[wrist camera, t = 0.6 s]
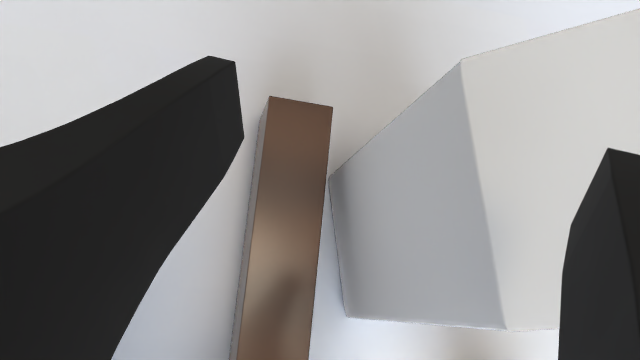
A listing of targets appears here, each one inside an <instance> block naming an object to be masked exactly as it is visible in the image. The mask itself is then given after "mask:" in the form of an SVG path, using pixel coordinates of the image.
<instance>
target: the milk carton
mask: <svg viewBox="0 0 640 360" xmlns="http://www.w3.org/2000/svg"><path fill="white" fill-rule="evenodd" d="M607 148H612V149H616V150H621V151H625V152H629V153H634V154H638V155H640V9H636V10H633V11H629V12H625V13H622V14H618V15H615V16H611V17H608V18H604V19H601V20H597V21H594V22H590V23H587V24H583V25H580V26H576V27H573V28H569V29H566V30H562V31H559V32H555V33H552V34H548V35H545V36H541V37H538V38H534V39H530V40H527V41H523V42H520V43H516V44H513V45H509V46H506V47H502V48H499V49H495V50H492V51H488V52H485V53H481V54H478V55H474V56H471V57H467V58H464V59H461V61H460V62H459V63H458V64H457V65H456V66H454V67H453V68H452V69H451V70H450V71H449V72H448V73H447V74H445V75H444V76H443V77H442V78H441V79H440V80H439V81H437V82H436V83H435V84H434V85H433V86H432V87H431V88H429V89H428V90H427V91H426V92H425V93H424V94H423V95H421V96H420V97H419V98H418V99H417V100H416V101H415V102H414V103H412V104H411V105H410V106H409V107H408V108H407V109H406V110H404V111H403V112H402V113H401V114H400V115H399V116H398V117H396V118H395V119H394V120H393V121H392V122H391V123H390V124H388V125H387V126H386V127H385V128H384V129H383V130H382V131H381V132H379V133H378V134H377V135H376V136H375V137H374V138H373V139H371V140H370V141H369V142H368V143H367V144H366V145H365V146H363V147H362V148H361V149H360V150H359V151H358V152H357V153H355V154H354V155H353V156H352V157H351V158H350V159H349V160H348V161H346V162H345V163H344V164H343V165H342V166H341V167H340V168H338V169H337V170H336V171H335V172H334V173H333V174H332V175H331V176H330V177H329V188H330V196H331V204H332V212H333V220H334V228H335V236H336V244H337V252H338V260H339V268H340V276H341V284H342V292H343V300H344V307H345V313H346V316H347V317H349V318H358V319H370V320H382V321H394V322H405V323H417V324H429V325H440V326H452V327H464V328H476V329H487V330H499V331H508V332H520V331H534V330H548V329H559V328H560V305H561V284H562V271H563V265H564V259H565V253H566V248H567V242H568V237H569V232H570V226H571V223H572V221H573V219H574V217H575V215H576V213H577V211H578V208H579V206H580V204H581V202H582V200H583V198H584V196H585V194H586V192H587V190H588V188H589V186H590V183H591V181H592V179H593V177H594V175H595V173H596V171H597V169H598V167H599V165H600V163H601V160H602V158H603V156H604V154H605V152H606V150H607Z"/></svg>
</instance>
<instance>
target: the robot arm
mask: <svg viewBox="0 0 640 360" xmlns="http://www.w3.org/2000/svg"><path fill="white" fill-rule="evenodd" d="M243 139H244V131H243V123H242V114H241V106H240V98H239V90H238V81H237V73H236V65H235V62H234V61H230V60H226V59H221V58H217V57H213V56H207V57H205V58H202V59H200V60H198V61H196V62H193V63H191V64H189V65H187V66H185V67H183V68H181V69H179V70H177V71H175V72H173V73H171V74H169V75H167V76H166V77H164V78H162V79H160V80H158V81H156V82H154V83H152V84H150V85H148V86H146V87H144V88H142V89H140V90H138V91H136V92H134V93H132V94H130V95H128V96H126V97H124V98H122V99H120V100H118V101H116V102H114V103H111V104H109V105H107V106H105V107H103V108H100V109H98V110H96V111H94V112H92V113H90V114H87V115H85V116H83V117H81V118H79V119H76V120H74V121H72V122H69V123H67V124H65V125H62V126H60V127H57V128H55V129H52V130H49V131H47V132H44V133H41V134H38V135H36V136H33V137H30V138H27V139H25V140H22V141H19V142H16V143H13V144H10V145H6V146H3V147H0V360H111V358H112V356H113V354H114V352H115V350H116V348H117V346H118V344H119V342H120V340H121V338H122V336H123V334H124V332H125V330H126V329H127V327H128V325H129V323H130V321H131V319H132V317H133V315H134V313H135V311H136V310H137V308H138V306H139V304H140V302H141V300H142V299H143V297H144V295H145V293H146V292H147V290H148V288H149V286H150V284H151V283H152V281H153V279H154V277H155V276H156V274H157V272H158V270H159V269H160V267H161V266H162V264H163V263H164V261H165V259H166V258H167V256H168V255H169V253H170V252H171V250H172V249H173V248H174V246H175V245H176V244H177V242H178V241H179V239H180V238H181V237H182V235H183V234H184V232H185V231H186V230H187V228H188V227H189V225H190V224H191V223H192V221H193V220H194V219H195V217H196V216H197V214H198V213H199V212H200V210H201V209H202V207H203V206H204V205H205V203H206V202H207V200H208V199H209V198H210V196H211V195H212V193H213V192H214V191H215V189H216V188H217V186H218V185H219V183H220V182H221V180H222V179H223V178H224V176H225V174H226V172H227V171H228V169H229V167H230V165H231V163H232V161H233V159H234V157H235V155H236V153H237V151H238V149H239V147H240V145H241V143H242V141H243ZM558 360H640V155H638V154H634V153H629V152H625V151H621V150H616V149H612V148H607V150H606V152H605V154H604V156H603V158H602V160H601V163H600V165H599V167H598V169H597V171H596V173H595V175H594V177H593V179H592V181H591V183H590V186H589V188H588V190H587V192H586V194H585V196H584V198H583V200H582V202H581V204H580V206H579V208H578V211H577V213H576V215H575V217H574V219H573V221H572V223H571V226H570V232H569V237H568V242H567V248H566V253H565V259H564V265H563V271H562V284H561V305H560V328H559V352H558Z"/></svg>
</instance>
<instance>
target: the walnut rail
mask: <svg viewBox="0 0 640 360" xmlns="http://www.w3.org/2000/svg"><path fill="white" fill-rule="evenodd" d="M332 113H333V107H330V106H324V105H319V104H313V103H307V102H302V101H296V100H290V99H284V98H279V97H273V96H269V98H268V101H267V103H266V106H265V108H264V111H263V113H262V115H261V118H260V122H259V130H258V137H257V145H256V153H255V161H254V169H253V176H252V184H251V192H250V200H249V208H248V215H247V223H246V231H245V239H244V246H243V254H242V262H241V270H240V278H239V285H238V293H237V301H236V309H235V317H234V324H233V332H232V340H231V348H230V356H229V360H308V357H309V347H310V337H311V327H312V316H313V306H314V296H315V286H316V276H317V266H318V255H319V245H320V235H321V225H322V215H323V204H324V194H325V184H326V174H327V164H328V154H329V143H330V133H331V123H332Z"/></svg>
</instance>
